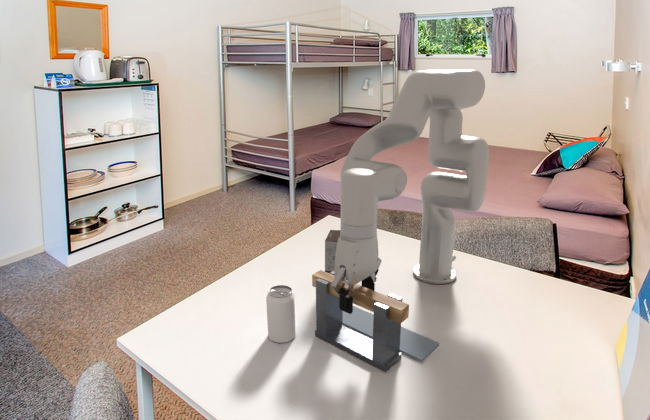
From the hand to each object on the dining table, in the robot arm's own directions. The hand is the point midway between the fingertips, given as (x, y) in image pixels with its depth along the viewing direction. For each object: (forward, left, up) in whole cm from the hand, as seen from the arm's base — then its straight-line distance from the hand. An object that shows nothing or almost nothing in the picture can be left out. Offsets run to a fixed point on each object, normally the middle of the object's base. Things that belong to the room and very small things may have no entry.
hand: (357, 303), depth 99 cm
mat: (-9, 0, -11) cm, 14 cm away
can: (+8, -16, -11) cm, 21 cm away
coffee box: (-19, -21, -12) cm, 31 cm away
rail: (0, 0, +1) cm, 1 cm away
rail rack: (0, 0, -11) cm, 11 cm away
